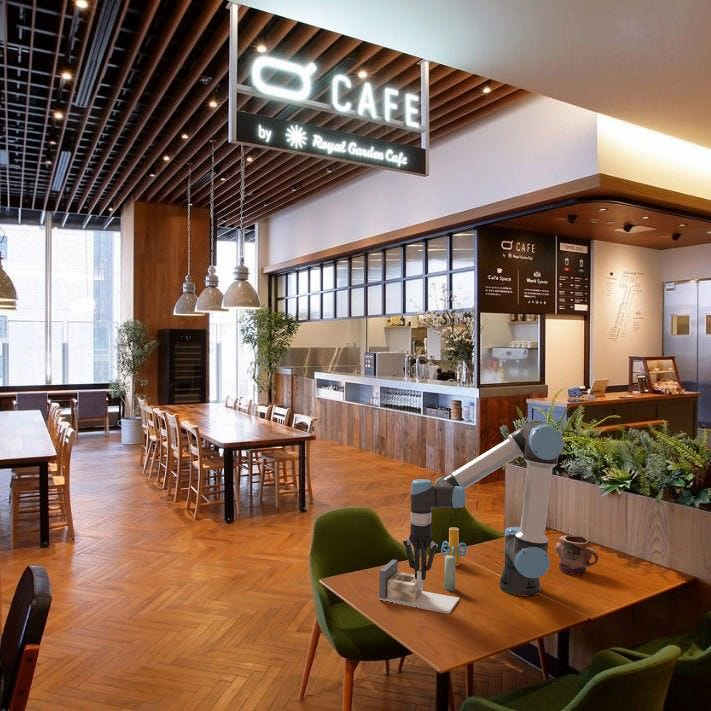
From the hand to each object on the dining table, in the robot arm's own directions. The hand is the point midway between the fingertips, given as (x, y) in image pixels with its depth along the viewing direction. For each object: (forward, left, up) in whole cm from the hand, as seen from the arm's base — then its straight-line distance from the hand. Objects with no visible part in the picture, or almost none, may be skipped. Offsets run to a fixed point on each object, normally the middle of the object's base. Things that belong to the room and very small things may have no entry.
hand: (420, 588), depth 221 cm
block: (+6, 0, -4) cm, 7 cm away
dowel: (-7, -15, -4) cm, 17 cm away
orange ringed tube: (-1, -42, -5) cm, 42 cm away
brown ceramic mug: (-49, -54, -5) cm, 73 cm away
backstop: (0, 0, -4) cm, 4 cm away
